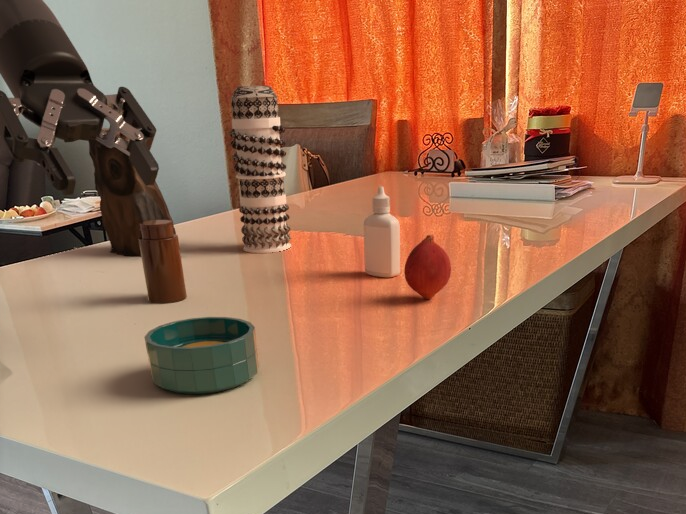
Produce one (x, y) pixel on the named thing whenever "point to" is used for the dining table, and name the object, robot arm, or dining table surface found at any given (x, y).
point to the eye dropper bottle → (381, 239)
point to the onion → (427, 268)
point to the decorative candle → (260, 169)
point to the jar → (162, 262)
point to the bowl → (202, 354)
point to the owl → (124, 198)
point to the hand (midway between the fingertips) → (113, 184)
